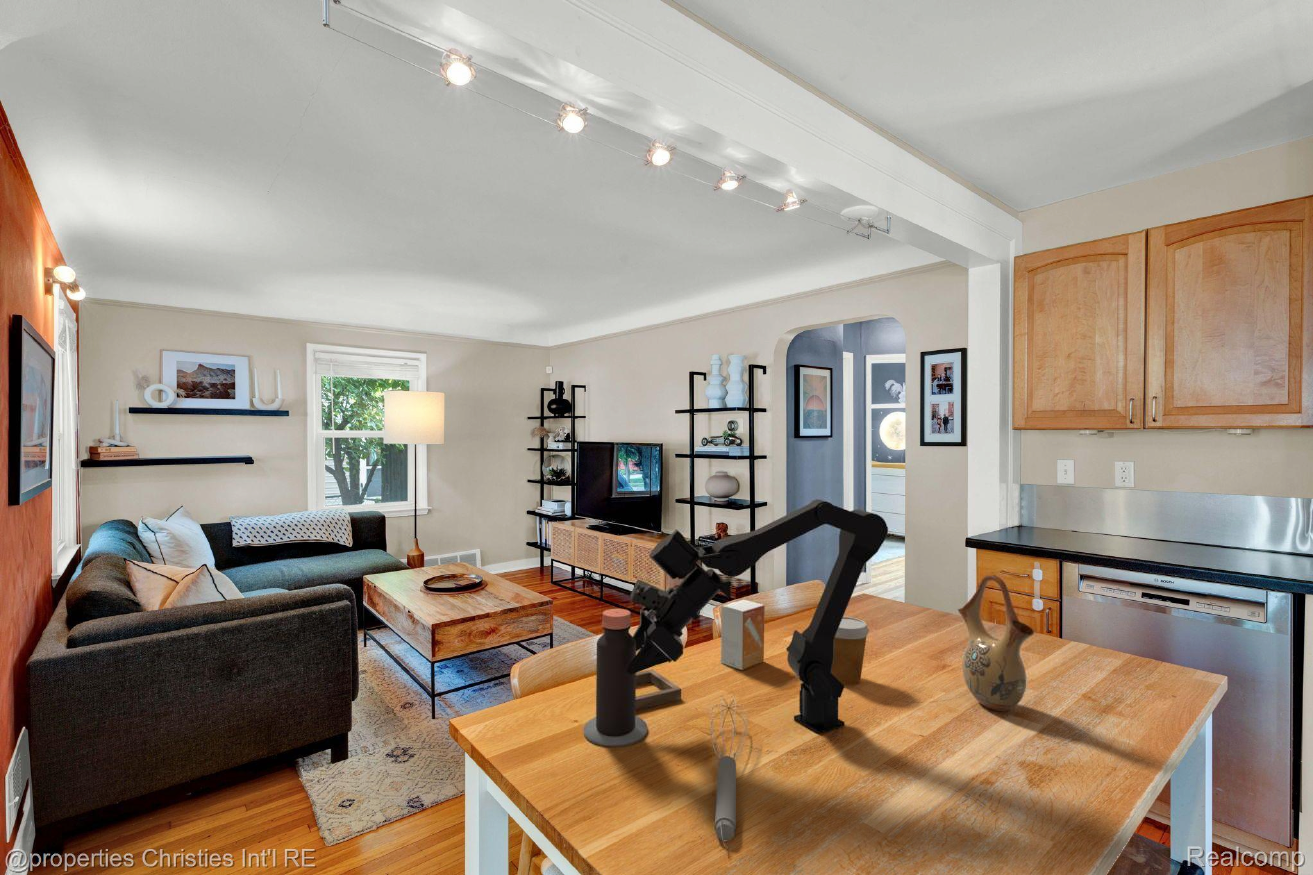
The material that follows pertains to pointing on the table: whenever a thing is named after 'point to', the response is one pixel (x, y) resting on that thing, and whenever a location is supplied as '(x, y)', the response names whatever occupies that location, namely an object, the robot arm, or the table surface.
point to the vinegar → (615, 675)
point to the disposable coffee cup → (849, 650)
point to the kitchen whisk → (726, 786)
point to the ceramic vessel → (994, 654)
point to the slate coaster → (615, 741)
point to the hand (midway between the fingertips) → (627, 662)
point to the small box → (742, 634)
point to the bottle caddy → (656, 698)
